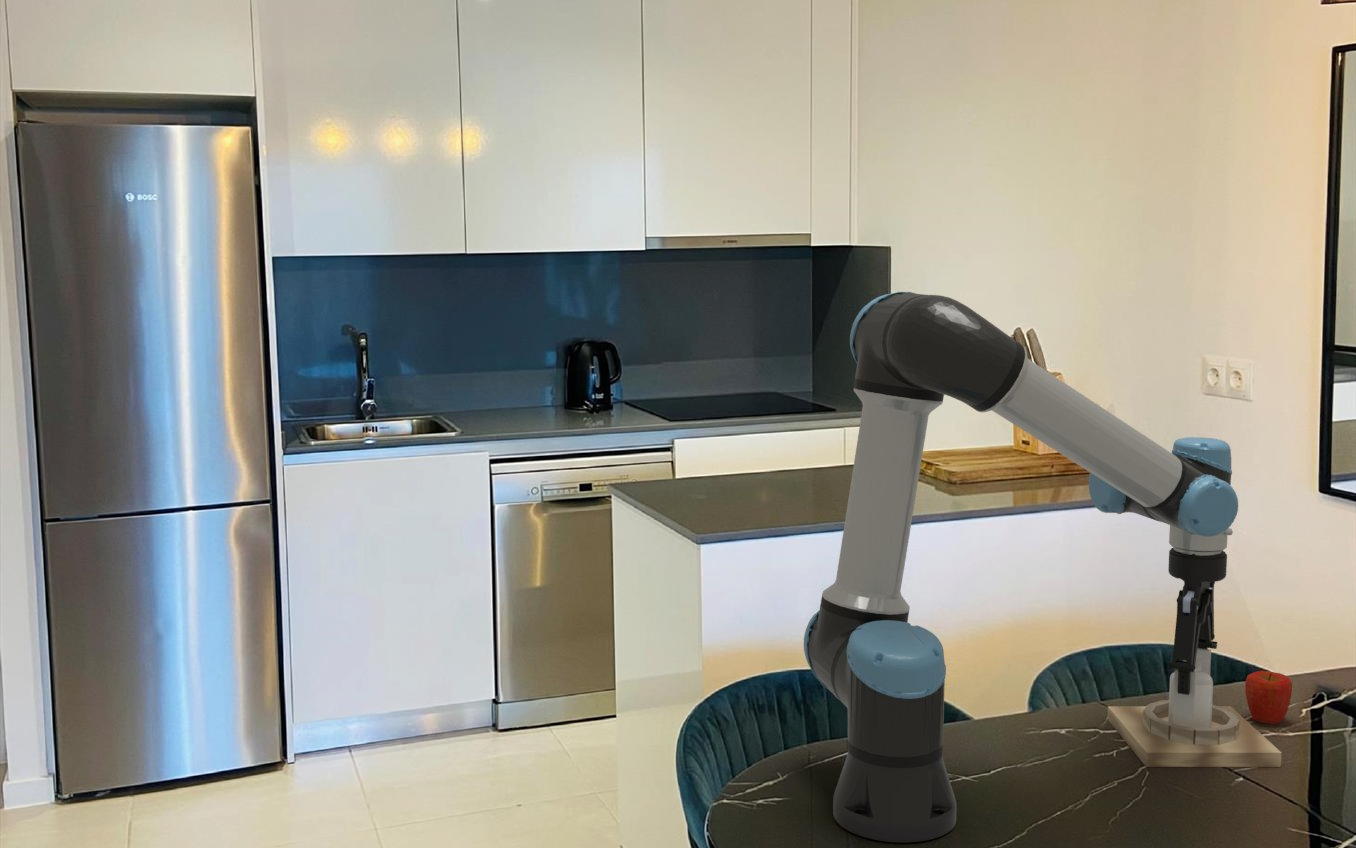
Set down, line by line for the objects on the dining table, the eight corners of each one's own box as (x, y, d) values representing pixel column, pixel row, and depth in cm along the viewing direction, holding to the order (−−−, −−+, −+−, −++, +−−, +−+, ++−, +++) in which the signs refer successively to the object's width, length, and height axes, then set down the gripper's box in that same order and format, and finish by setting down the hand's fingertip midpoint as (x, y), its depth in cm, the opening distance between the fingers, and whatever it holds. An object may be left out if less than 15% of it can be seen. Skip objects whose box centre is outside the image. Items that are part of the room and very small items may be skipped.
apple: (1255, 730, 191) (1258, 680, 190) (1236, 715, 197) (1238, 666, 196) (1298, 729, 191) (1300, 679, 190) (1277, 714, 198) (1280, 666, 197)
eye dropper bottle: (1203, 737, 183) (1207, 653, 182) (1163, 727, 187) (1167, 646, 185) (1215, 728, 187) (1218, 646, 185) (1175, 719, 190) (1178, 638, 189)
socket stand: (1146, 766, 178) (1147, 738, 178) (1107, 719, 196) (1108, 693, 196) (1280, 767, 178) (1282, 738, 177) (1229, 719, 196) (1231, 693, 195)
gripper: (1211, 569, 172) (1204, 733, 175) (1240, 536, 191) (1233, 685, 194) (1151, 562, 176) (1145, 723, 179) (1186, 531, 195) (1180, 676, 198)
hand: (1191, 703), depth 186 cm, fingers open, 10 cm apart
